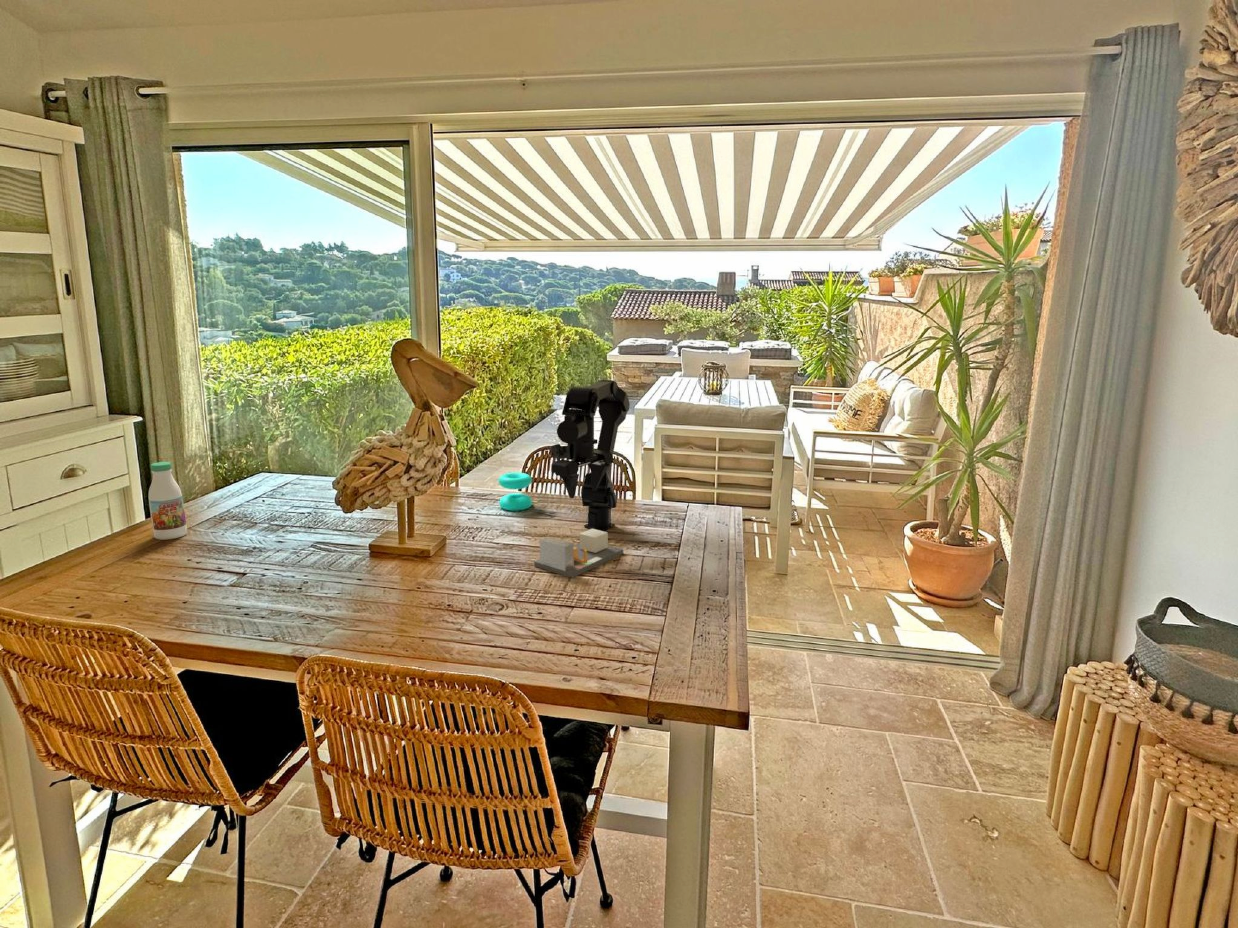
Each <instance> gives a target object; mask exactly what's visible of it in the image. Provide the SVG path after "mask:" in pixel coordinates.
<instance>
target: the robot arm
mask: <svg viewBox="0 0 1238 928" xmlns="http://www.w3.org/2000/svg"><path fill="white" fill-rule="evenodd" d="M564 400H565V401H564V403H563V409H562V412H561V415H562V416H564V418H563V420H562V421H561V422H560V423H559V424H558V426H557V428H556V435H557V438H558V439H559V440H560V441H561V442H562V443H565V444H566V445H564V446H561V444H560V443H558V444H554V445H551V447H550V455H551V457H552V458H553V459H554V458H555V461H553V462H552V463H551V465H550V466H551V467H550V468H551V473H553V474H555V475H556V476H558V477H560V478H561V480H562V481H563V483H564V486H565V489H566V492H567V495H568V497H569V498H570V499H575V496H576V492H577V486H578V483H579V481H578V480H579V478H580V477H579V476H580V474H579V473H578V471H579V468H581V467H584V466H588V469H590V472H589V473H588V472H586V474H585V476H584V481H583V484H582V486H581V489H580V490H581V491H580V496H581V503H582V507H588V510H587V511H588V512H587V523H586V524H584V525H583V527H584V528H587V529H589V530H590V529H596V530H600V531H604V532H605V531H606V530H608V529H611V528H613V527H615V526H616V523H612V522H611V521H612V516H611V515H612V513H611V512H612V509H616V508H617V503H618V501H617V500H618V497H617V494H616V493H615V490H614V483H613V481H612V478H611V475H610V474H611V473H610V472H611V467H612V464H613V463H614V450H615V447H616V446H615V445H616V440H617V436H618V431H619V430H618V429H619V426H620V425H621V424H622V423H623V422H624V421H625V420H626V418H627V414H628V412H629V411H630V399H629V397H628V395H627V392H625V390H624V389H622V388H621V387H620V386H619V385H618V383H617V381H614V379H613V380H611V379H600V380H597V382H595V383H592V384H591V385H588V386H585V387H584V386H571V387H570V388H569V390H568V391H567V393H566V396H565V399H564ZM597 409H598V414H599V417H600V418H601V427H600V432H599V438H598V439H595V418H594V417H595V416H596V412H597ZM595 445H597V447H596V449H595Z"/></svg>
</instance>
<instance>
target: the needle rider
mask: <svg viewBox="0 0 1238 928" xmlns="http://www.w3.org/2000/svg"><path fill="white" fill-rule="evenodd" d="M583 551H584V560H583V559H580V558H578V548H576V547H574V561H578V562H582V563H585V564H586V563H587V550H586V549H585V550H583Z"/></svg>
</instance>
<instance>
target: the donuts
mask: <svg viewBox="0 0 1238 928" xmlns="http://www.w3.org/2000/svg"><path fill="white" fill-rule="evenodd" d="M532 481H533V480H532V477H531V475H529V473H528V474H527V473H526V472H508V473H505V474H502V475H500V476H499V478H498V484H499V485H500V486H501V487H503V488H504V489H507V490H521V489H524V488H527V487H529V486H530V485H531V483H532ZM498 504H499V507H500V508H501V509H503V510H505V511H511V512H512V511H519V512H520V511H524V510H526V509H529V508H530V507H532V505H533V499H532V497H530V496H529V495H527V494H524V493H518V492H517V493H508V494H506V495H503V496H502V497H501V498H500V499H499V502H498Z"/></svg>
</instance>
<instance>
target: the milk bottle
mask: <svg viewBox="0 0 1238 928" xmlns="http://www.w3.org/2000/svg"><path fill="white" fill-rule="evenodd" d="M150 470H151V473H152V481H151V483H150V485H149V489H148V497H147V498H148V507H149V512H150V519H151V525H152V526H151V527H152V532H153V537H154V538H155V539H156V540H174V539H178V538H181V537H184V536H186V535H187V533H188V528H187V527H188V526H187V518H186V511H185V504H184V499H183V495H182V494H183V493H182V489H181V488H180V485H179V484H178V483H177V481H176V480H175V478H174V476H173V474H172V471H173V470H172V463H171V462H169V461H160V462H154V463H151V464H150Z"/></svg>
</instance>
